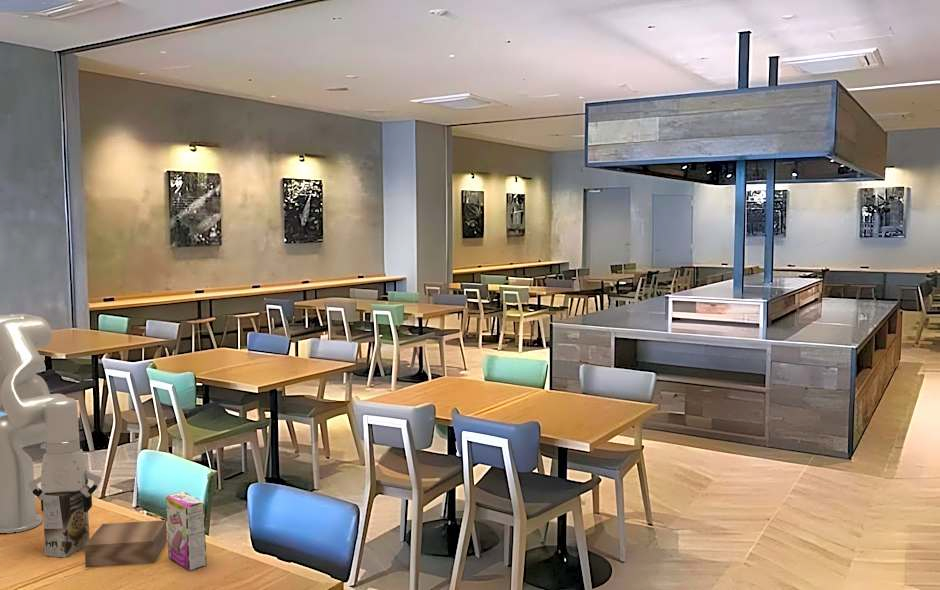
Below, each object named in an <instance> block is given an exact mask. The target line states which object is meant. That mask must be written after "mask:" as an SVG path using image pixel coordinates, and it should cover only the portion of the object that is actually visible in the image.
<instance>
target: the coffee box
mask: <svg viewBox="0 0 940 590" xmlns="http://www.w3.org/2000/svg"><path fill="white" fill-rule="evenodd" d="M84 496H85V495H84V494H83V493H82V492H81V491H77V492H65V493H46V494H43V511H42V513H44V515H43V531H44V533H43V534H44V555H45V557H46V556H47V557H55V558H68V557H69V556H71V555H72V554H75V553H77V552H78V551H80V550H81V549H83V548H85V544H86V543H87V542H88V541H89V539H90V525H89V524H90V523H89V521H90V520H89V511H88V512H84V508H83V497H84Z"/></svg>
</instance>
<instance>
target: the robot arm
mask: <svg viewBox="0 0 940 590" xmlns="http://www.w3.org/2000/svg"><path fill="white" fill-rule="evenodd" d="M52 339H53V330H52V328H51V325H50V324H49V323H48V321H47V320H45V319H44V318H43V317H41V316H37V315H31V314H28V313H12V314H0V413H5V414H6V415H1V416H0V533H7V534H15V533H14V532H16V533H20V532H24V531H28V530H31V529H33V528H36V527H38V526H39V525H41V524H42V523H43V516H44V513H43V494H46V493H65V492H77V491H81V492H82V493H83V494H84V495H85V496H84V497H83V508H84V512H88V513H89V511H90V510H91V508H92V507H93V493H94V492H95V491H96V490H97V489H98V488H99V486H100V484H101V482H102V479H103V478H102V476H99V475H97V474H94V473H91V472H89V471H88V467H87V462H86V461H87V460H86V457H85V453H84V451H83V449H82V448H81V446H80V445H81V444H80V427H79V413H78V411H79V409H78V401H77V400H76V399H75V398H73V397H67V396H66V395H65V394H62V393H52V394H51V392H50V389H49V386H48V384H47V382H46V381H45V380H44V378H43V377H42V376H40V375H38V373H39V372H40V371H41V369H42V368H43V365H44V360H43V357H41V355H40V353H39V351H38V349H37V348H40V347H42V348H43V347H46V346H48V345H49V344H50V343H51V342H52ZM36 444H37V445H38V444H40V449H41V450H43V449H44V450H45V453H43V454H42V455H43V456H42V461H41V472H40V476H39V477H37V478H35V474H34V473H35V472H34V461H33V459H32V457H31V456H30V455H29V454H28V453H27V452H26V451H25V450H24V449H23V448H25V447H29V446H32V445H36ZM89 480H90V481H92V482H93V484H92V486H89V485H88V484H89ZM39 483H40V487H38V484H39ZM36 497H37V498H38V500H39V501H40V506H41V507H40V508H41V512H42V513H43V516H42V515H41V514H38V513H37V511H36V509H37V508H36Z"/></svg>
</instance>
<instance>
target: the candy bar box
mask: <svg viewBox="0 0 940 590" xmlns="http://www.w3.org/2000/svg"><path fill="white" fill-rule="evenodd" d="M165 507H166V509H165V510H166V524H167V546H168V547H167V549H168V550H167V551H168V559H170V560H171V561H173V562H174V563H176V564H178V566H179V565H180V566H181V567H183V568H184V569H185V570H187V571H189V572H190V571H194V570H196V569H201V568H202V566H203V567H205V566H207V546H206V545H207V544H206V543H207V541H206V538H207V537H206V518H205V517H206V516H205V501H202V500H201V499H199V498H197V497H194V496H193V495H191V494H189V493H187V492H185V491H179V492H177V493H176V492H175V493H171V494H168V495H165Z"/></svg>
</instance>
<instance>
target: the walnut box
mask: <svg viewBox="0 0 940 590" xmlns="http://www.w3.org/2000/svg"><path fill="white" fill-rule="evenodd" d="M166 543H168V533H167V519H163V520H162V519H161V520H145V521H144V520H143V521H129V522H128V521H127V522H113V523H112V522H111V523H109V522H108V523H102V524H101V525H100V526H99V527H98V528H97V530H96V531H95V532H94V534H93V535H92V536H91V537H89V541H88V542H87V543H86V544H85V547H84V558H85V559H84V561H85V562H84V563H85V568H99V567H114V566H128V565H130V566H131V565H144V564H146V565H147V564H154V563H156V560H157V559H158V557H159V555H160V554H161V552H162V550H163V549H164V547H165V545H166Z"/></svg>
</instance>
